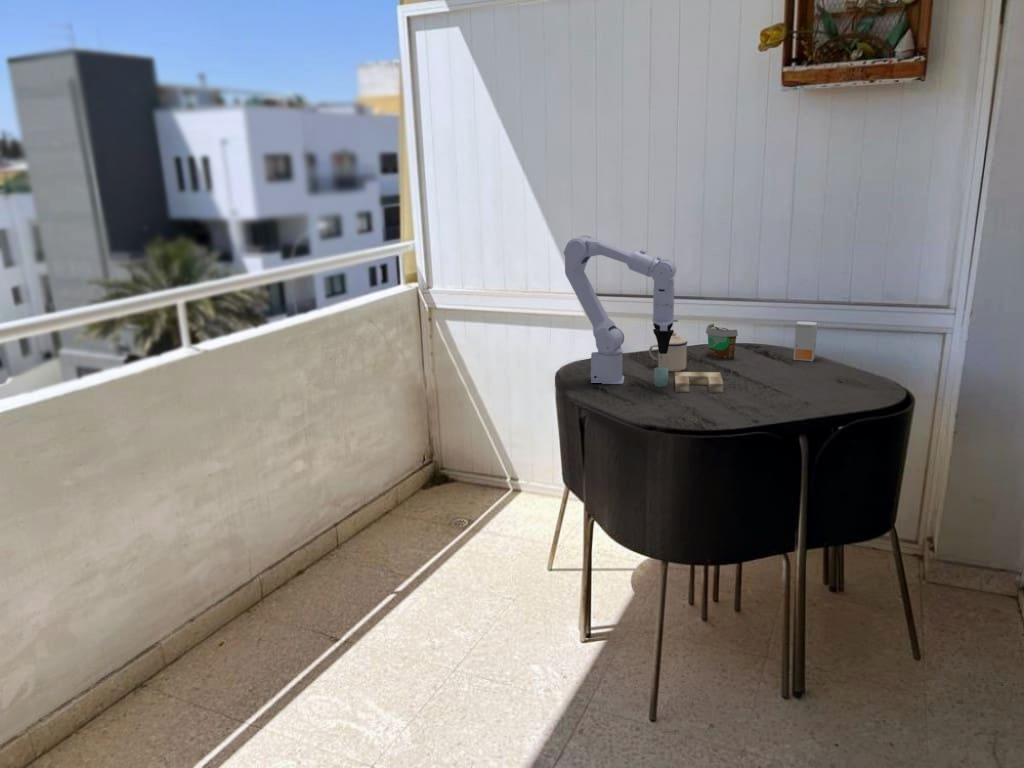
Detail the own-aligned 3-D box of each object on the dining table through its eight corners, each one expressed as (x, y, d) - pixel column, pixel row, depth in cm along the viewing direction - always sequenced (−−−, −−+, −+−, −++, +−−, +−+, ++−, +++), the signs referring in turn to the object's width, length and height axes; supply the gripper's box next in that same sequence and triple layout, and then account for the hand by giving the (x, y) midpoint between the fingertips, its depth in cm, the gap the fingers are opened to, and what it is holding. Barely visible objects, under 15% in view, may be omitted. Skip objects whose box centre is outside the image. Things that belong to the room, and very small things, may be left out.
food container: (697, 354, 244) (698, 325, 241) (711, 352, 246) (712, 323, 244) (721, 362, 233) (723, 332, 230) (736, 359, 236) (738, 329, 233)
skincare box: (792, 360, 232) (795, 323, 229) (795, 357, 236) (797, 320, 232) (813, 361, 229) (816, 324, 226) (815, 358, 233) (817, 322, 230)
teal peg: (654, 387, 210) (654, 370, 209) (654, 383, 214) (654, 366, 213) (668, 387, 210) (668, 370, 208) (668, 383, 213) (668, 366, 212)
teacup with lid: (689, 365, 231) (690, 329, 228) (682, 372, 223) (683, 336, 220) (653, 362, 236) (653, 327, 233) (645, 369, 229) (645, 333, 225)
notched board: (675, 391, 205) (675, 383, 204) (674, 379, 216) (674, 371, 216) (723, 392, 202) (723, 383, 202) (719, 380, 214) (720, 372, 213)
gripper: (678, 308, 198) (678, 356, 201) (677, 299, 211) (676, 344, 215) (652, 308, 199) (652, 356, 203) (652, 299, 213) (652, 344, 216)
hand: (662, 350), depth 209 cm, fingers open, 7 cm apart
